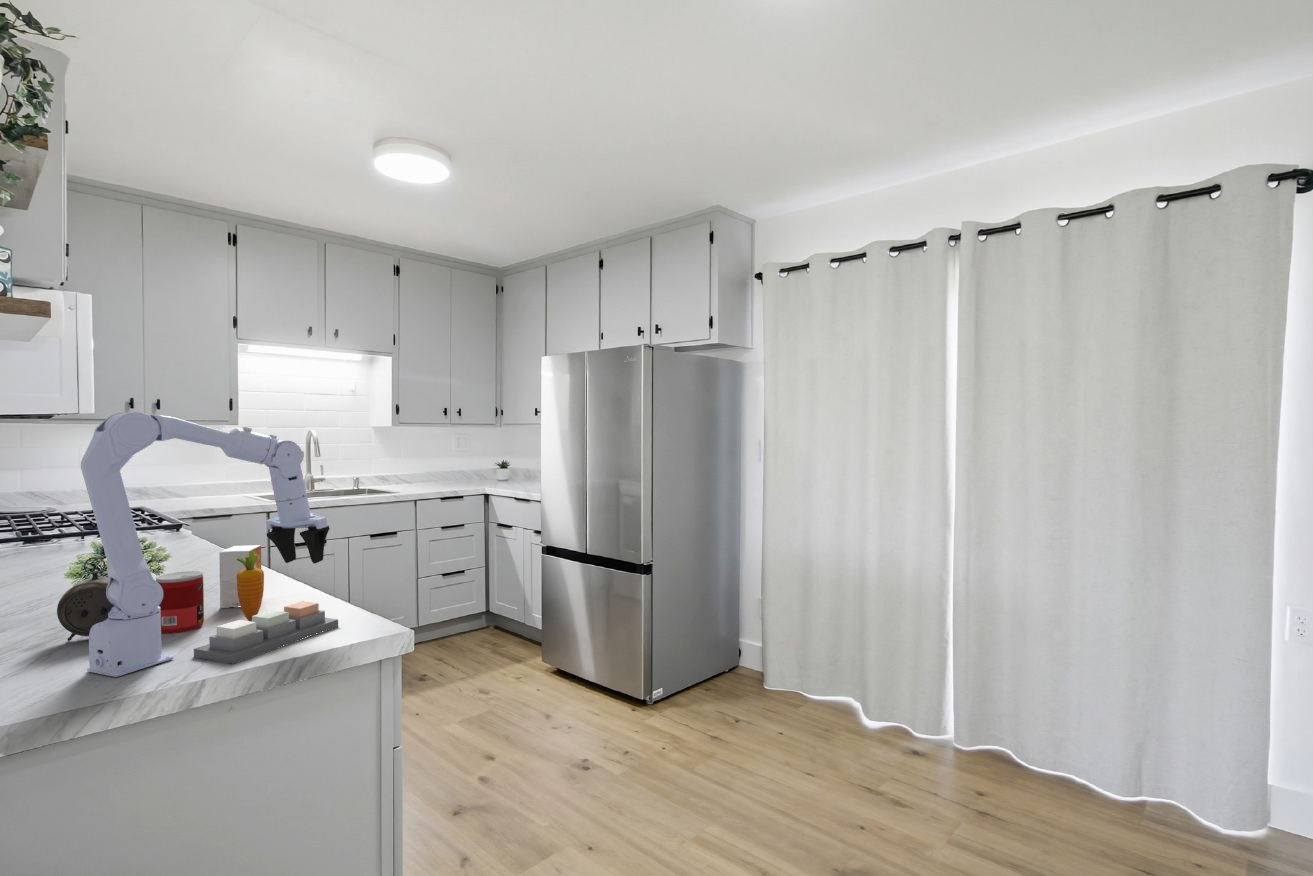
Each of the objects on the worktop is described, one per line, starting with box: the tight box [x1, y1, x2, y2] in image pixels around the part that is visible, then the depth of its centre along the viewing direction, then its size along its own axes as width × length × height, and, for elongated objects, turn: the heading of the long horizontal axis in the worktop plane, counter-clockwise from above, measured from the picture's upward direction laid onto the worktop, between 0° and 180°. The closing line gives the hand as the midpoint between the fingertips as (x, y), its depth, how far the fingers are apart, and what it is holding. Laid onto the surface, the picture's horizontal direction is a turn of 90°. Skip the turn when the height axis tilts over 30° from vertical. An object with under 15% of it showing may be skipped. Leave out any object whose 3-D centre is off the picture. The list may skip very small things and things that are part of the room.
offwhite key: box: [216, 619, 256, 639], centre depth 123 cm, size 4×4×2 cm
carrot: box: [236, 551, 265, 622], centre depth 142 cm, size 5×5×15 cm
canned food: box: [155, 570, 205, 634], centre depth 138 cm, size 8×8×11 cm
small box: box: [219, 544, 262, 609], centre depth 157 cm, size 8×6×13 cm
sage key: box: [252, 609, 289, 628], centre depth 130 cm, size 4×4×2 cm
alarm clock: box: [56, 556, 114, 641], centre depth 131 cm, size 11×5×16 cm, turn 114°
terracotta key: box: [283, 600, 320, 618], centre depth 136 cm, size 4×4×2 cm
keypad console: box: [193, 609, 339, 665], centre depth 130 cm, size 23×10×4 cm, turn 159°
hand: (304, 561), depth 139 cm, fingers open, 7 cm apart
